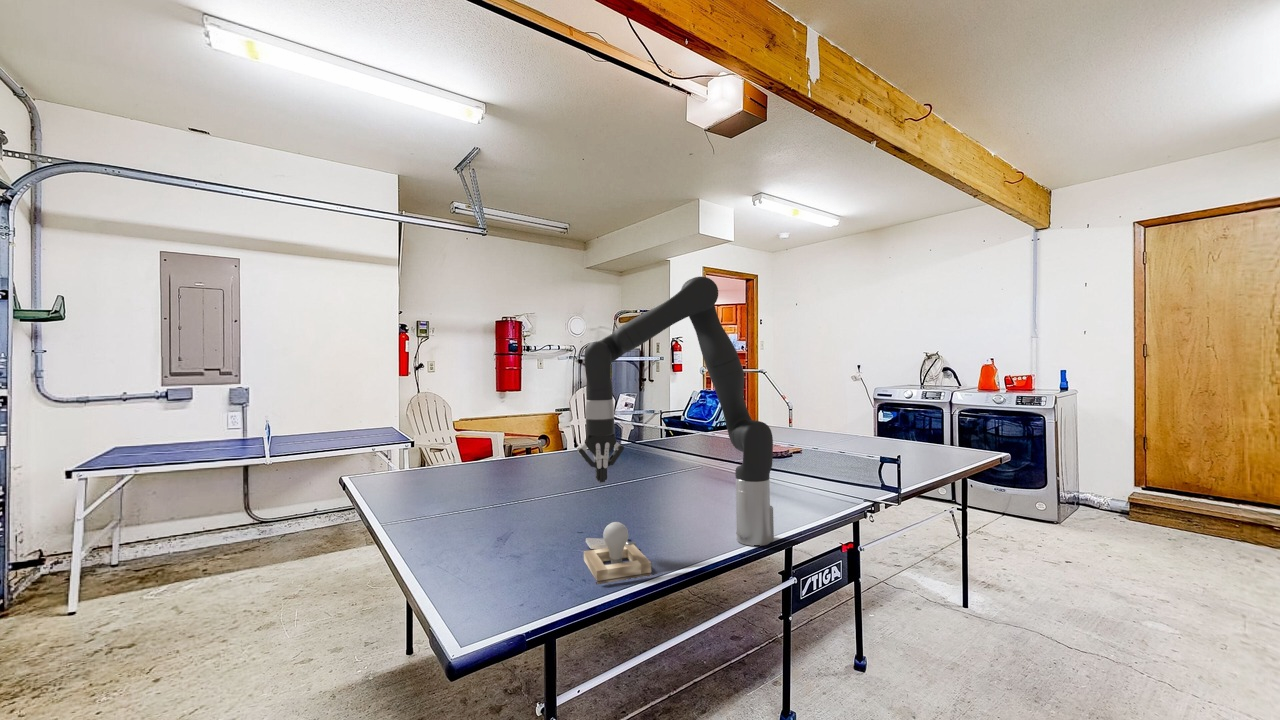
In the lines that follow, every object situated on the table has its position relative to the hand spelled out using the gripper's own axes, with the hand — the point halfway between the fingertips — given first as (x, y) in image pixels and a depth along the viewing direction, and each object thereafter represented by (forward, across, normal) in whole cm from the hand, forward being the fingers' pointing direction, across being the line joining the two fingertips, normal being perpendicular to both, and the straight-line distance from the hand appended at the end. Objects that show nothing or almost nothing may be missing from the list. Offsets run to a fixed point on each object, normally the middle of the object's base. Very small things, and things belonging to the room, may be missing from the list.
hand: (601, 481), depth 132 cm
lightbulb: (+18, 0, -12) cm, 22 cm away
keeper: (+17, +2, 0) cm, 17 cm away
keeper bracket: (+18, +7, 0) cm, 19 cm away
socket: (+18, 0, -13) cm, 22 cm away
